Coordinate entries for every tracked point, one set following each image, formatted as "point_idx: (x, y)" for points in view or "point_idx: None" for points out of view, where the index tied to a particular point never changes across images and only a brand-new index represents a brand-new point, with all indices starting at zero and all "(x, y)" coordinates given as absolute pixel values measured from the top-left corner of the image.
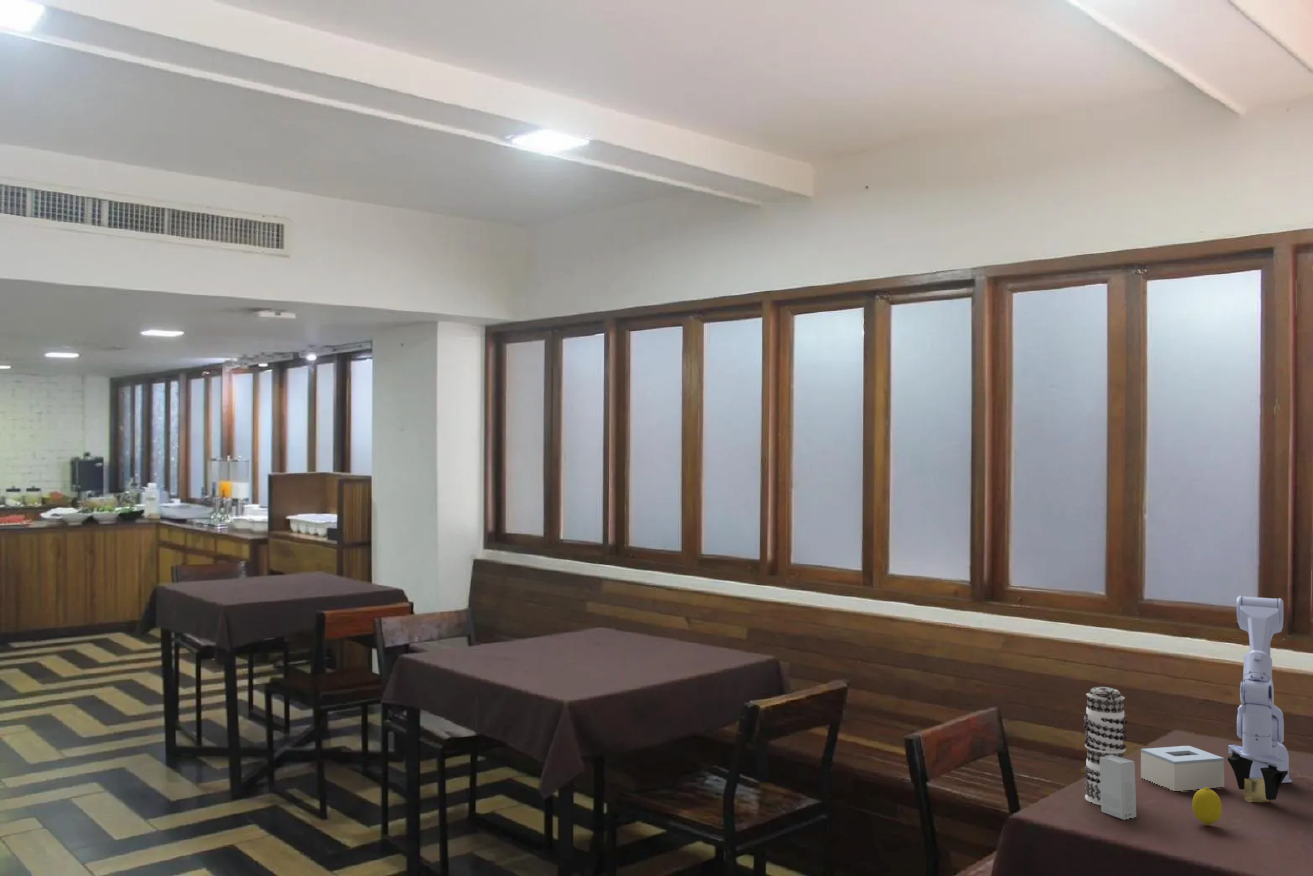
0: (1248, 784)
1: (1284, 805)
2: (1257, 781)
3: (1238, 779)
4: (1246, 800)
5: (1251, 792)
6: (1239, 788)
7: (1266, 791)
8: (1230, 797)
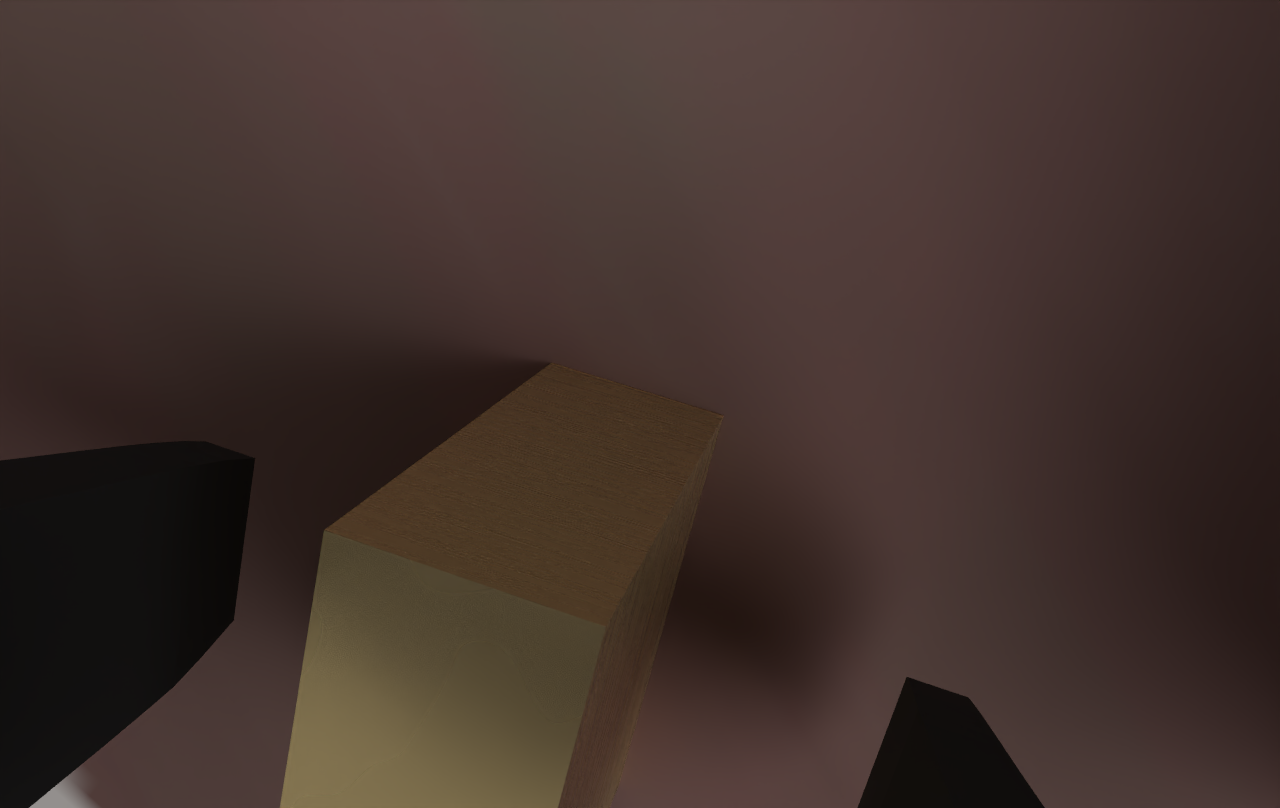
0: (499, 510)
1: (252, 722)
2: (308, 710)
3: (966, 792)
4: (674, 405)
5: (478, 425)
6: (952, 695)
7: (93, 471)
8: (998, 351)
